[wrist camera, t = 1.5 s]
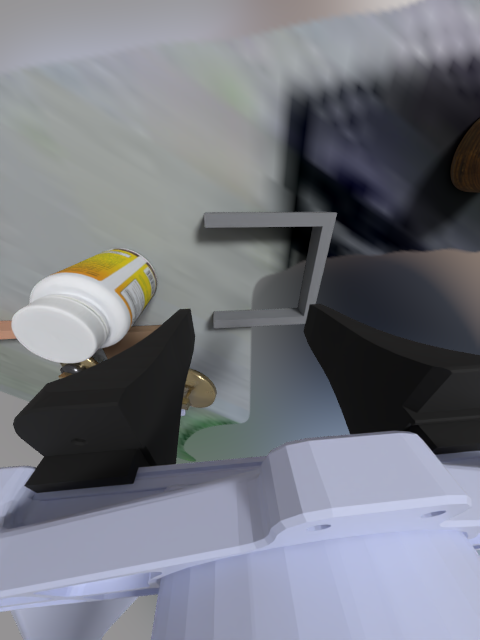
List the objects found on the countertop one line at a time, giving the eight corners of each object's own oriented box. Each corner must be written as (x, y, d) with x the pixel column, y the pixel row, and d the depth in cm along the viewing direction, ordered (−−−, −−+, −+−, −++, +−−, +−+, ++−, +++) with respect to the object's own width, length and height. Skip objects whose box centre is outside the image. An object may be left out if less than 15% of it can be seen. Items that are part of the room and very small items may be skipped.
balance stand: (180, 361, 25) (171, 397, 21) (119, 365, 25) (95, 403, 20) (172, 324, 22) (159, 357, 18) (101, 327, 22) (68, 363, 17)
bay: (205, 212, 17) (203, 213, 15) (325, 211, 17) (336, 212, 16) (214, 318, 22) (213, 328, 21) (304, 314, 23) (310, 323, 22)
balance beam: (218, 407, 19) (209, 430, 17) (75, 376, 23) (55, 392, 21) (214, 373, 17) (204, 395, 15) (53, 344, 20) (28, 359, 18)
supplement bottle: (86, 270, 18) (-34, 332, 10) (124, 233, 17) (23, 266, 8) (135, 310, 21) (75, 386, 12) (171, 280, 20) (132, 342, 11)
